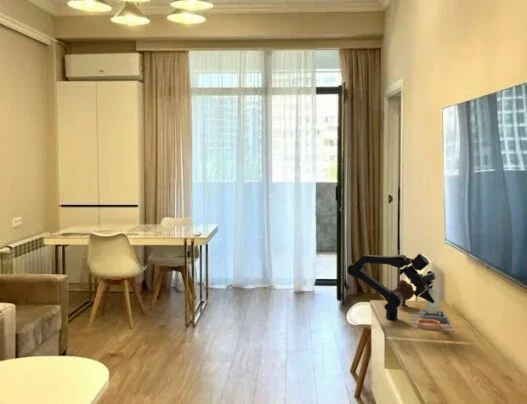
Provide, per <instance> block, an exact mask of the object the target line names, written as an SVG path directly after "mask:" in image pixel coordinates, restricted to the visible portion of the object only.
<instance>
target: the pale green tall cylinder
mask: <svg viewBox="0 0 527 404" xmlns="http://www.w3.org/2000/svg"><path fill="white" fill-rule="evenodd" d="M429 294H430V295H431V297H432V298H433V300H434V303H431V302H429V301H427V300H425V310H426V312H427V313H431V314H436V313H438V311H439V303H440V302H439V301H440V290H439V289H437V288H432V289H429Z"/></svg>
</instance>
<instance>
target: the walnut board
mask: <svg viewBox="0 0 527 404" xmlns="http://www.w3.org/2000/svg"><path fill="white" fill-rule="evenodd" d="M408 315H409V319H410V322H411V325H412V327H413V330H418V331H420V330H421V331H434V332H435V331H436V332H451V333H455V332H456V331H455V329H454V328H453V326H452V324H451V322H450V321H449V319H448V318H447V323H442V322H440V324H441V327H440V328H439V329H435V330H432V329H423V328H420V327H417V325H416V320H418V319H421V317H420V312H408Z"/></svg>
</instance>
